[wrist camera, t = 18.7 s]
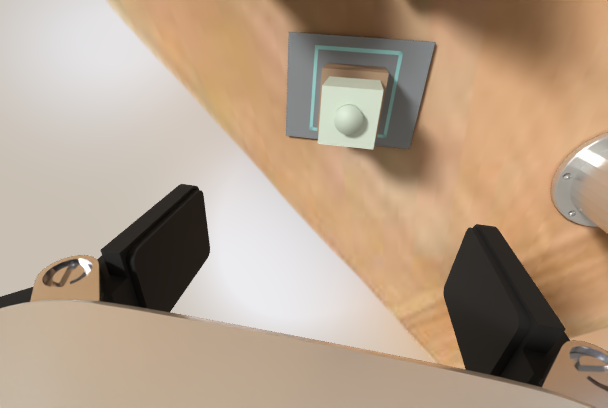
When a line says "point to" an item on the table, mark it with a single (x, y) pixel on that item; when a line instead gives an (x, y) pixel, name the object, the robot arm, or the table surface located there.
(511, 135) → the table surface
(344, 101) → the sage block
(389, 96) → the slate mat
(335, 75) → the walnut block
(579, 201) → the robot arm
